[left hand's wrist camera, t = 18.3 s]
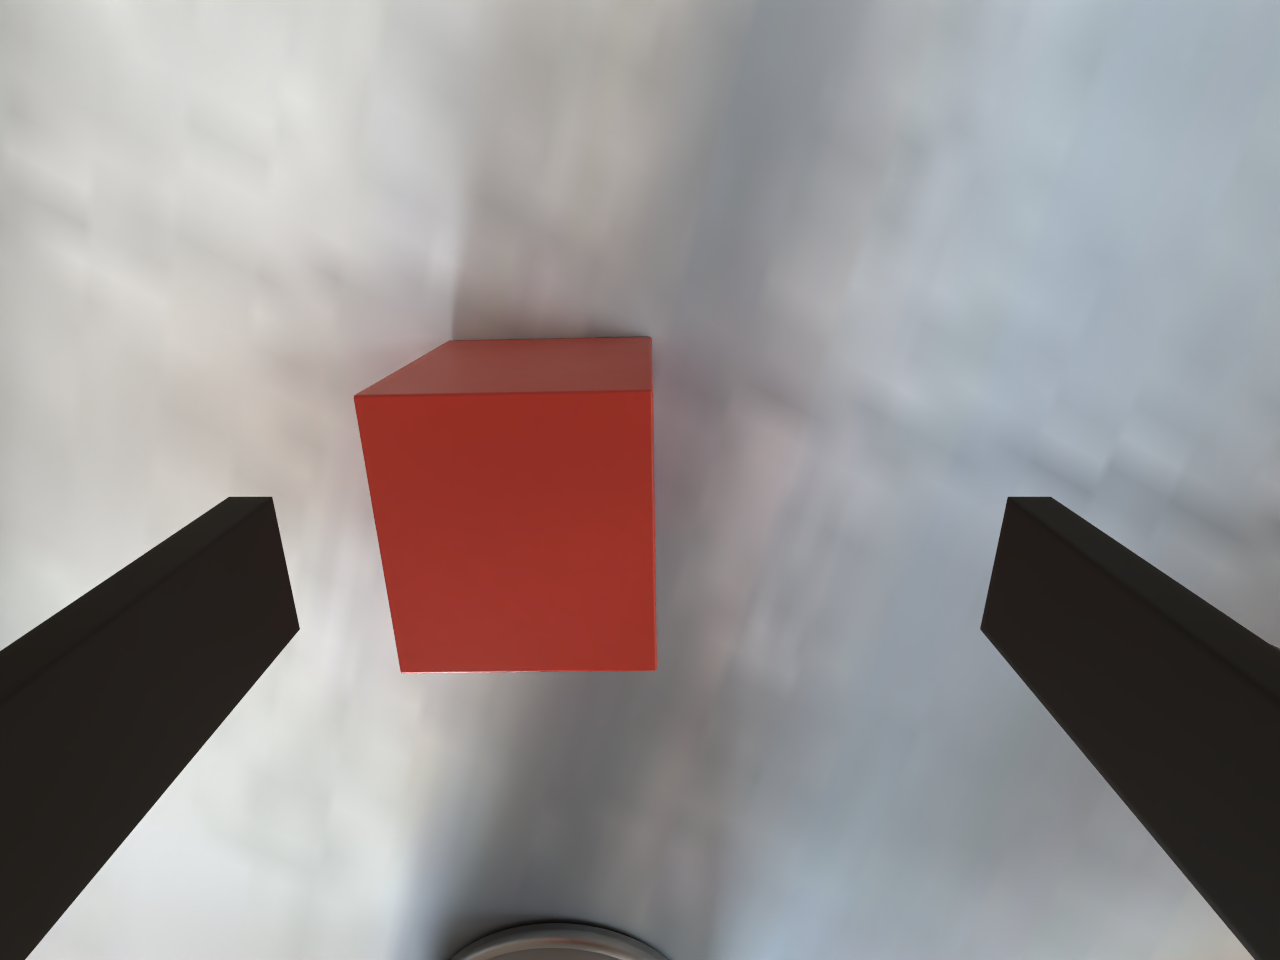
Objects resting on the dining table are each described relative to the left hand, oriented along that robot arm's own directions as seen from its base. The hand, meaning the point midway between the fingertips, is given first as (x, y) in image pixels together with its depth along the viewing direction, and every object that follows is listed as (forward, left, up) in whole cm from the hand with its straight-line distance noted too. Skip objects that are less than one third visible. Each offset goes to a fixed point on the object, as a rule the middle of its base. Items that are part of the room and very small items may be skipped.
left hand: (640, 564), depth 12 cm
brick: (-1, +4, -14) cm, 15 cm away
